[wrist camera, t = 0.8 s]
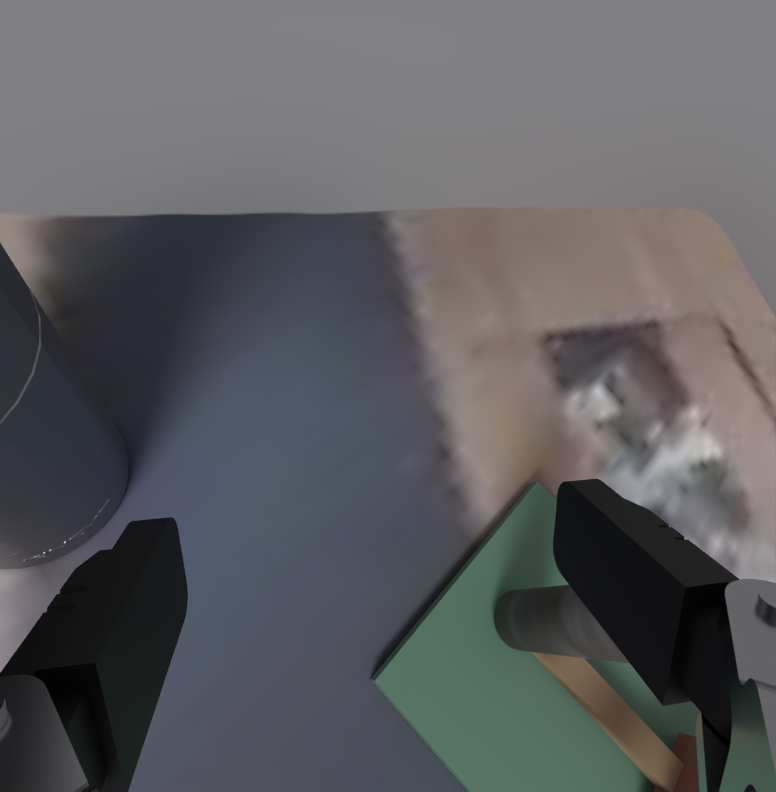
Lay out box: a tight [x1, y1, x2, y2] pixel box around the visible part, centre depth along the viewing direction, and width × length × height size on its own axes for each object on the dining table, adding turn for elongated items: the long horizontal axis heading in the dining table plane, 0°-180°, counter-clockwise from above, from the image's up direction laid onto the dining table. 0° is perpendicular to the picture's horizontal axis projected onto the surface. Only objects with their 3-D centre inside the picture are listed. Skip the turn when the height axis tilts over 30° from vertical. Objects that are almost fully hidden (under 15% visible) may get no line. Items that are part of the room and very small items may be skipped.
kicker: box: [494, 585, 699, 792], centre depth 22 cm, size 15×5×13 cm, turn 45°
